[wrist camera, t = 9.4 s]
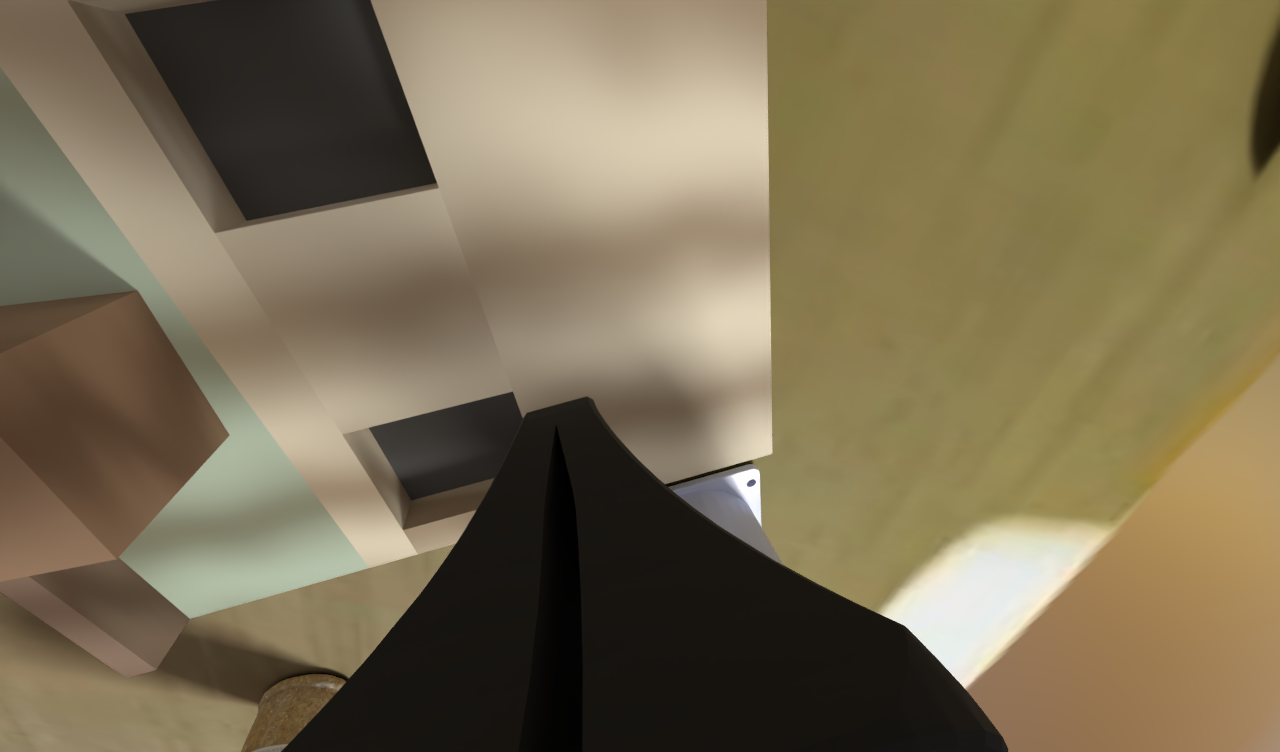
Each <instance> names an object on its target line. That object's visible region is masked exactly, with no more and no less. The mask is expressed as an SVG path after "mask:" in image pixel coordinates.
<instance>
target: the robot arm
mask: <svg viewBox="0 0 1280 752" xmlns="http://www.w3.org/2000/svg"><path fill="white" fill-rule="evenodd" d="M751 479H752V480H751ZM749 480H751V481H749ZM748 481H749V482H748ZM281 752H1008V748H1007V745H1006V743H1005V742H1004V739H1003V737H1002V736H1001V734H1000V733H999V732H998V730H997V729H996V728H995V726H994V725H993V724H992V723H991V721H990V720H989V719H988V717H987V716H986V715H985V713H984V712H983V711H982V709H981V708H980V707H979V706H978V704H977V703H976V702H975V701H974V699H973V698H972V697H971V696H970V694H969V693H968V692H967V691H966V690H965V689H964V687H963V686H962V685H961V684H960V683H959V682H958V681H957V680H956V679H955V678H954V677H953V676H952V674H951V673H950V672H949V671H948V670H947V669H946V668H945V667H944V666H943V665H942V664H941V663H940V661H939V660H938V659H937V658H936V657H935V656H934V655H933V654H932V653H931V652H930V651H929V650H928V649H927V648H926V647H925V646H924V645H923V644H922V643H921V642H920V641H919V640H918V639H917V638H916V637H915V636H914V635H913V634H912V633H911V632H910V631H909V630H908V629H907V628H906V627H905V626H904V625H901V624H899V623H897V622H895V621H893V620H891V619H888V618H886V617H884V616H882V615H880V614H878V613H876V612H874V611H871V610H869V609H867V608H865V607H863V606H861V605H859V604H857V603H854V602H852V601H850V600H848V599H846V598H844V597H842V596H840V595H838V594H836V593H834V592H832V591H830V590H829V589H827V588H825V587H823V586H821V585H819V584H817V583H815V582H813V581H811V580H809V579H807V578H806V577H804V576H802V575H800V574H798V573H796V572H795V571H793V570H791V569H789V568H787V567H786V566H784V565H783V564H782V562H781V560H780V558H779V557H778V555H777V553H776V552H775V550H774V548H773V546H772V545H771V543H770V541H769V539H768V538H767V536H766V534H765V533H764V531H763V529H762V527H761V498H760V472H759V470H758V468H757V467H756V466H755V465H753V464H748V465H744V466H741V467H737V468H734V469H730V470H727V471H723V472H720V473H716V474H713V475H709V476H706V477H702V478H699V479H695V480H692V481H688V482H684V483H681V484H677V485H674V486H670V487H667V486H666V485H665V484H664V483H663V482H662V481H661V480H659V479H658V478H657V477H656V476H655V475H654V474H653V473H652V472H651V471H650V470H649V469H648V468H647V467H645V466H644V465H643V464H642V463H641V462H640V461H639V460H638V459H637V458H636V457H635V456H634V455H633V454H632V452H631V451H630V450H629V449H628V448H627V447H626V446H625V445H624V444H623V442H622V441H621V440H620V439H619V438H618V437H617V436H616V434H615V433H614V432H613V431H612V430H611V428H610V427H609V425H608V424H607V423H606V421H605V420H604V419H603V417H602V416H601V414H600V413H599V411H598V409H597V407H596V405H595V403H594V400H593V399H591V398H589V397H587V396H586V397H582V398H579V399H575V400H571V401H568V402H564V403H561V404H557V405H553V406H550V407H546V408H542V409H539V410H535V411H531V412H528V413H526V415H525V416H524V418H523V419H522V422H521V424H520V426H519V428H518V431H517V433H516V435H515V437H514V439H513V442H512V444H511V446H510V448H509V450H508V452H507V454H506V456H505V458H504V460H503V462H502V464H501V466H500V468H499V470H498V472H497V474H496V476H495V478H494V480H493V482H492V484H491V486H490V487H489V489H488V491H487V493H486V495H485V497H484V498H483V500H482V502H481V503H480V505H479V507H478V508H477V510H476V512H475V513H474V515H473V517H472V518H471V520H470V522H469V524H468V525H467V527H466V529H465V530H464V532H463V533H462V535H461V537H460V538H459V540H458V541H457V543H456V544H455V546H454V547H453V549H452V550H451V552H450V553H449V555H448V556H447V558H446V559H445V561H444V562H443V564H442V565H441V566H440V568H439V569H438V571H437V572H436V573H435V575H434V576H433V578H432V579H431V580H430V582H429V583H428V584H427V586H426V587H425V588H424V590H423V591H422V592H421V594H420V595H419V596H418V597H417V599H416V600H415V601H414V602H413V604H412V605H411V606H410V607H409V608H408V610H407V611H406V612H405V613H404V615H403V616H402V617H401V618H400V619H399V621H398V622H397V623H396V624H395V625H394V627H393V628H392V629H391V630H390V632H389V633H388V634H387V635H386V636H385V638H384V639H383V640H382V641H381V643H380V644H379V645H378V646H377V647H376V649H375V650H374V651H373V652H372V654H371V655H370V656H369V657H368V658H367V659H366V660H365V662H364V663H363V664H362V665H361V666H360V667H359V668H358V669H357V671H356V672H355V673H354V674H353V675H352V676H351V677H350V678H349V679H348V681H347V682H346V683H345V684H344V685H343V686H342V687H341V688H340V689H339V691H338V692H337V693H336V694H335V695H334V696H333V697H332V698H331V699H330V700H329V702H328V703H327V704H326V705H325V706H324V707H323V708H322V709H321V710H320V711H319V712H318V713H317V714H316V715H315V716H314V717H313V719H312V720H311V721H310V722H309V723H308V724H307V725H306V726H305V727H304V728H303V729H302V730H301V731H300V732H299V733H298V734H297V735H296V737H295V738H294V739H293V740H292V741H291V742H290V743H289V744H288V745H287V746H286V747H285V748H284V749H283V750H282V751H281Z"/></svg>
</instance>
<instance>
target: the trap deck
mask: <svg viewBox="0 0 1280 752" xmlns="http://www.w3.org/2000/svg"><path fill="white" fill-rule="evenodd" d="M129 291H138V292H139V293H140V295H141V296H142V298H143V299H144V301H145V303H146V304H147V306H148V307H149V309H150V310H151V312H152V314H153V315H154V317H155V318H156V320H157V321H158V323H159V325H160V326H161V328H162V329H163V331H164V332H165V334H166V336H167V337H168V339H169V340H170V342H171V343H172V345H173V347H174V348H175V350H176V351H177V353H178V354H179V356H180V358H181V359H182V361H183V362H184V364H185V365H186V367H187V369H188V370H189V372H190V373H191V375H192V376H193V378H194V380H195V381H196V383H197V384H198V386H199V387H200V389H201V391H202V392H203V394H204V395H205V397H206V398H207V400H208V402H209V403H210V405H211V406H212V408H213V409H214V411H215V413H216V414H217V416H218V417H219V419H220V420H221V422H222V424H223V425H224V427H225V428H226V430H227V432H228V433H229V435H230V436H229V437H228V438H227V439H226V440H225V441H224V442H223V443H222V444H221V446H220V447H219V448H218V449H217V450H216V451H215V452H214V453H213V454H212V455H211V456H210V458H209V459H208V460H207V461H206V462H205V463H204V464H203V465H202V466H201V467H200V469H199V470H198V471H197V472H196V473H195V474H194V475H193V476H192V477H191V478H190V480H189V481H188V482H187V483H186V484H185V485H184V486H183V487H182V488H181V489H180V491H179V492H178V493H177V494H176V495H175V496H174V497H173V498H172V499H171V500H170V501H169V503H168V504H167V505H166V506H165V507H164V508H163V509H162V510H161V511H160V512H159V514H158V515H157V516H156V517H155V518H154V519H153V520H152V521H151V522H150V523H149V525H148V526H147V527H146V528H145V529H144V530H143V531H142V532H141V533H140V534H139V536H138V537H137V538H136V539H135V540H134V541H133V542H132V543H131V544H130V545H129V546H128V548H127V549H126V550H125V551H124V552H123V553H122V554H121V555H120V556H119V557H118V559H116V560H110V561H105V562H100V563H95V564H90V565H84V566H79V567H74V568H69V569H64V570H59V571H53V572H48V573H43V574H38V575H33V576H27V577H22V578H17V579H12V580H7V581H2V582H0V592H1V593H3V594H4V595H6V596H7V597H8V598H10V599H11V600H13V601H14V602H16V603H17V604H19V605H20V606H22V607H23V608H25V609H26V610H27V611H29V612H30V613H32V614H33V615H35V616H36V617H38V618H39V619H41V620H42V621H43V622H45V623H46V624H48V625H49V626H51V627H52V628H54V629H55V630H57V631H58V632H60V633H61V634H62V635H64V636H65V637H67V638H68V639H70V640H71V641H73V642H74V643H76V644H77V645H78V646H80V647H81V648H83V649H84V650H86V651H87V652H89V653H90V654H92V655H93V656H95V657H96V658H97V659H99V660H100V661H102V662H103V663H105V664H106V665H108V666H109V667H111V668H112V669H113V670H115V671H116V672H118V673H119V674H121V675H122V676H124V677H125V678H130V677H133V676H137V675H140V674H143V673H147V672H150V671H154V670H156V669H157V668H158V666H159V665H160V663H161V662H162V660H163V659H164V657H165V656H166V654H167V653H168V651H169V650H170V648H171V647H172V645H173V644H174V642H175V641H176V639H177V638H178V636H179V634H180V633H181V631H182V630H183V628H184V627H185V625H186V624H187V622H188V621H189V619H191V618H194V617H198V616H201V615H205V614H208V613H212V612H215V611H219V610H222V609H226V608H230V607H233V606H237V605H240V604H244V603H247V602H251V601H254V600H258V599H261V598H265V597H268V596H272V595H275V594H279V593H282V592H286V591H290V590H293V589H297V588H300V587H304V586H307V585H311V584H314V583H318V582H321V581H325V580H328V579H332V578H335V577H339V576H343V575H346V574H350V573H353V572H357V571H360V570H364V569H367V568H371V567H374V566H378V565H381V564H385V563H388V562H392V561H396V560H399V559H403V558H406V557H410V556H413V555H417V554H420V553H424V552H427V551H431V550H434V549H438V548H441V547H445V546H448V545H452V544H456V543H457V541H458V540H459V538H460V537H461V535H462V533H463V532H464V530H465V529H466V527H467V525H468V524H469V522H470V520H471V518H472V517H473V515H474V513H475V512H476V510H477V508H478V507H479V505H480V503H481V502H482V500H483V498H484V497H485V495H486V493H487V491H488V489H489V487H490V486H491V484H492V482H493V480H494V478H495V476H496V474H497V472H498V470H499V468H500V466H501V464H502V462H503V460H504V458H505V456H506V454H507V452H508V450H509V448H510V446H511V444H512V442H513V439H514V437H515V435H516V433H517V431H518V428H519V426H520V424H521V422H522V419H523V418H524V416H525V415H526V413H528V412H531V411H535V410H539V409H542V408H546V407H550V406H553V405H557V404H561V403H564V402H568V401H571V400H575V399H579V398H582V397H586V396H587V397H589V398H591V399H593V400H594V403H595V405H596V407H597V409H598V411H599V413H600V414H601V416H602V417H603V419H604V420H605V421H606V423H607V424H608V425H609V427H610V428H611V430H612V431H613V432H614V433H615V434H616V436H617V437H618V438H619V439H620V440H621V441H622V442H623V444H624V445H625V446H626V447H627V448H628V449H629V450H630V451H631V452H632V454H633V455H634V456H635V457H636V458H637V459H638V460H639V461H640V462H641V463H642V464H643V465H644V466H645V467H647V468H648V469H649V470H650V471H651V472H652V473H653V474H654V475H655V476H656V477H657V478H658V479H659V480H661V481H662V482H663V483H664V484H667V483H671V482H675V481H678V480H682V479H685V478H689V477H692V476H696V475H699V474H703V473H706V472H710V471H713V470H717V469H720V468H724V467H728V466H731V465H735V464H738V463H742V462H745V461H749V460H752V459H756V458H759V457H763V456H766V455H770V454H772V396H771V318H770V240H769V162H768V84H767V6H766V0H0V306H6V305H15V304H24V303H32V302H41V301H50V300H59V299H68V298H76V297H85V296H94V295H103V294H112V293H120V292H129Z"/></svg>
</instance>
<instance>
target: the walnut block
mask: <svg viewBox="0 0 1280 752" xmlns="http://www.w3.org/2000/svg"><path fill="white" fill-rule="evenodd" d="M229 436H230V435H229V433H228V432H227V430H226V428H225V427H224V425H223V424H222V422H221V420H220V419H219V417H218V416H217V414H216V413H215V411H214V409H213V408H212V406H211V405H210V403H209V402H208V400H207V398H206V397H205V395H204V394H203V392H202V391H201V389H200V387H199V386H198V384H197V383H196V381H195V380H194V378H193V376H192V375H191V373H190V372H189V370H188V369H187V367H186V365H185V364H184V362H183V361H182V359H181V358H180V356H179V354H178V353H177V351H176V350H175V348H174V347H173V345H172V343H171V342H170V340H169V339H168V337H167V336H166V334H165V332H164V331H163V329H162V328H161V326H160V325H159V323H158V321H157V320H156V318H155V317H154V315H153V314H152V312H151V310H150V309H149V307H148V306H147V304H146V303H145V301H144V299H143V298H142V296H141V295H140V293H139V292H138V291H129V292H120V293H112V294H103V295H94V296H85V297H76V298H68V299H59V300H50V301H41V302H32V303H24V304H15V305H6V306H0V582H2V581H7V580H12V579H17V578H22V577H27V576H33V575H38V574H43V573H48V572H53V571H59V570H64V569H69V568H74V567H79V566H84V565H90V564H95V563H100V562H105V561H110V560H116V559H118V557H119V556H120V555H121V554H122V553H123V552H124V551H125V550H126V549H127V548H128V546H129V545H130V544H131V543H132V542H133V541H134V540H135V539H136V538H137V537H138V536H139V534H140V533H141V532H142V531H143V530H144V529H145V528H146V527H147V526H148V525H149V523H150V522H151V521H152V520H153V519H154V518H155V517H156V516H157V515H158V514H159V512H160V511H161V510H162V509H163V508H164V507H165V506H166V505H167V504H168V503H169V501H170V500H171V499H172V498H173V497H174V496H175V495H176V494H177V493H178V492H179V491H180V489H181V488H182V487H183V486H184V485H185V484H186V483H187V482H188V481H189V480H190V478H191V477H192V476H193V475H194V474H195V473H196V472H197V471H198V470H199V469H200V467H201V466H202V465H203V464H204V463H205V462H206V461H207V460H208V459H209V458H210V456H211V455H212V454H213V453H214V452H215V451H216V450H217V449H218V448H219V447H220V446H221V444H222V443H223V442H224V441H225V440H226V439H227V438H228V437H229Z"/></svg>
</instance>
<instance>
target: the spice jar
mask: <svg viewBox="0 0 1280 752" xmlns="http://www.w3.org/2000/svg"><path fill="white" fill-rule="evenodd" d="M345 683H346V681H345V680H343V679H341V678H337V677H335V676H332V675H323V674H308V675H302V676H298V677H292V678H289V679H286V680H283V681H281V682H279V683H277V684H276V685H274V686H273V687H271V688H270V689H269V690H267V691H266V692H265V693H264V695H263V697H262V699H261V701H260V704H259V707H258V714H257V717H256V719H255V721H254V723H253V725H252V728H251V730H250V732H249V734H248V737H247V739H246V741H245V744H244V746H243V748H242V751H241V752H281V751H282V750H283V749H284V748H285V747H286V746H287V745H288V744H289V743H290V742H291V741H292V740H293V739H294V738H295V737H296V735H297V734H298V733H299V732H300V731H301V730H302V729H303V728H304V727H305V726H306V725H307V724H308V723H309V722H310V721H311V720H312V719H313V717H314V716H315V715H316V714H317V713H318V712H319V711H320V710H321V709H322V708H323V707H324V706H325V705H326V704H327V703H328V702H329V700H330V699H331V698H332V697H333V696H334V695H335V694H336V693H337V692H338V691H339V689H340V688H341V687H342V686H343V685H344V684H345Z"/></svg>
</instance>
